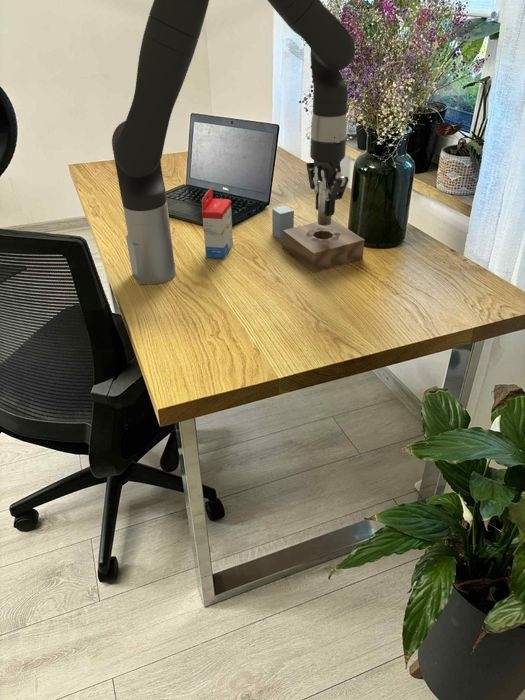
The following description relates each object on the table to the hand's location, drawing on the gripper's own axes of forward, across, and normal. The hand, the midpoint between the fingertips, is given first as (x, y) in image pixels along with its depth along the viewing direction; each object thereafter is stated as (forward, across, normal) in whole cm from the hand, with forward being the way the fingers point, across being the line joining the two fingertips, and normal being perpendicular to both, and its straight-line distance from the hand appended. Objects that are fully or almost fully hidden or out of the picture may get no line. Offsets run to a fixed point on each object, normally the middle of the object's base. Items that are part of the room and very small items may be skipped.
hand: (324, 212), depth 126 cm
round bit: (+3, 0, 0) cm, 3 cm away
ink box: (+11, -14, -21) cm, 28 cm away
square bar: (+11, -14, -3) cm, 18 cm away
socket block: (+11, 0, 0) cm, 11 cm away
